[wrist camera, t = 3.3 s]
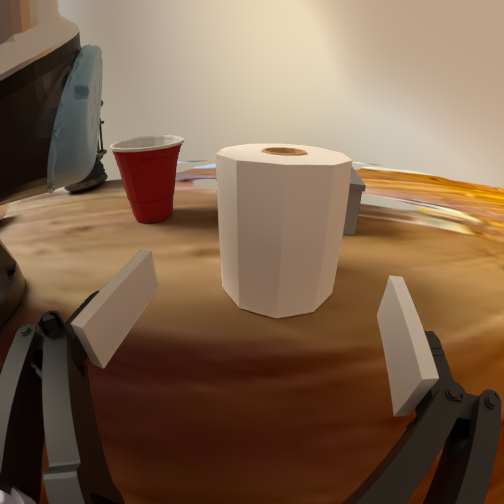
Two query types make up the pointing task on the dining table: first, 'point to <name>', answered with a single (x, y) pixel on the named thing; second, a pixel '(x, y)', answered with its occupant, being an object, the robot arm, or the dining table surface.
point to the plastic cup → (149, 174)
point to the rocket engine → (3, 210)
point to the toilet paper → (280, 225)
